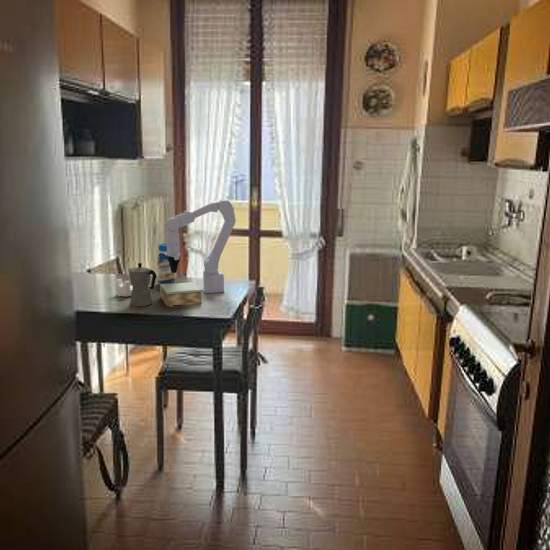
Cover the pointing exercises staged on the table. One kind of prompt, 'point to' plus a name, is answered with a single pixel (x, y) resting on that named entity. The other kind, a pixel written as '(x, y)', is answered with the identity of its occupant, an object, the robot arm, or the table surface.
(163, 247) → the beverage bottle
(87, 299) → the table surface
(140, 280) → the coffeepot
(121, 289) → the bracket
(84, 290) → the table surface
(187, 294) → the box
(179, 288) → the lid
